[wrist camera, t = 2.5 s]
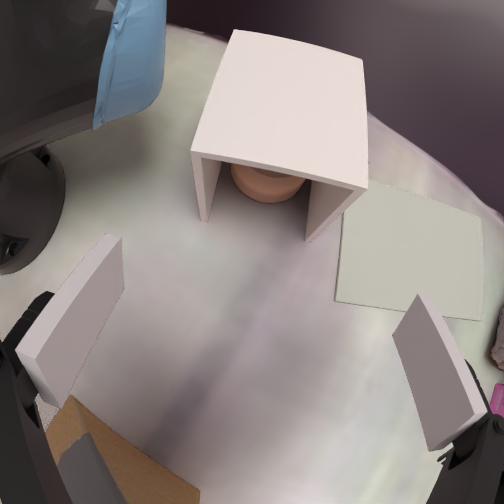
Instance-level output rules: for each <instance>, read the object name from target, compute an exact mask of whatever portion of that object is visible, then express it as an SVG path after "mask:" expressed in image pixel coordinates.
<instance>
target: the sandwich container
mask: <svg viewBox="0 0 504 504" xmlns="http://www.w3.org/2000/svg"><path fill="white" fill-rule="evenodd" d="M45 435H46V438H47V441H48V444H49V447H50V450H51V453H52V455H53V458H54V461H55V463H56V466H57V468H58V471H59V473H60V476H61V478H62V481H63V483H64V485H65V488H66V490H67V492H68V494H69V496H70V498H71V501H72V503H73V504H199V501H200V491H199V490H198V489H197V488H195V487H194V486H192V485H190V484H189V483H187V482H185V481H184V480H182V479H181V478H179V477H178V476H176V475H175V474H173V473H172V472H170V471H169V470H167V469H166V468H164V467H163V466H161V465H160V464H159V463H157V462H156V461H154V460H153V459H152V458H150V457H149V456H147V455H146V454H144V453H143V452H142V451H140V450H139V449H137V448H136V447H134V446H133V445H132V444H130V443H129V442H128V441H126V440H125V439H124V438H122V437H121V436H120V435H118V434H117V433H116V432H114V431H113V430H112V429H111V428H109V427H108V426H107V425H106V424H104V423H103V422H102V421H101V420H99V419H98V418H97V417H96V416H95V415H94V414H92V413H91V412H90V411H89V410H88V409H87V408H85V407H84V406H83V405H82V404H81V403H80V402H79V401H78V400H77V399H75V398H74V397H73V396H72V395H70V396H69V397H68V399H67V400H66V401H65V403H64V406H63V408H62V409H60V410H59V411H58V412H57V414H56V415H55V417H54V418H53V419H52V421H51V423H50V425H49V427H48V428H47V430H46V432H45Z"/></svg>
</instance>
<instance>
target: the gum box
mask: <svg viewBox="0 0 504 504" xmlns="http://www.w3.org/2000/svg"><path fill="white" fill-rule="evenodd" d="M490 409H491V411H492V413H493V414H499V415H501V416H502V417H503V418H504V384H496V385H495V389H494V393H493V396H492V400H491V403H490Z"/></svg>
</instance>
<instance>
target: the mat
mask: <svg viewBox="0 0 504 504" xmlns="http://www.w3.org/2000/svg"><path fill="white" fill-rule="evenodd" d="M483 284H484V271H483V242H482V227H481V218H479V217H477V216H474V215H472V214H469V213H466V212H464V211H461V210H459V209H456V208H453V207H451V206H448V205H445V204H443V203H440V202H437V201H434V200H432V199H429V198H426V197H423V196H420V195H417V194H414V193H411V192H408V191H405V190H402V189H399V188H396V187H393V186H389V185H386V184H383V183H380V182H376V181H373V180H370V179H368V189H367V190H366V191H365V192H364V193H363V194H362V195H361V196H360V197H359V198H358V199H357V200H356V201H355V202H354V203H353V204H352V205H351V206H349V207H348V208H347V209H346V210H345V211H344V212H343V218H342V231H341V243H340V254H339V264H338V273H337V282H336V290H335V298H334V301H337V302H343V303H349V304H356V305H362V306H369V307H376V308H383V309H390V310H397V311H404V312H407V311H408V309H409V307H410V306H411V304H412V302H413V300H414V299H415V297H416V295H417V293H420V294H426V295H430V296H431V298H432V300H433V301H434V303H435V305H436V307H437V308H438V310H439V312H440V314H441V316H442V317H450V318H458V319H467V320H475V321H482V313H483Z"/></svg>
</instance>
